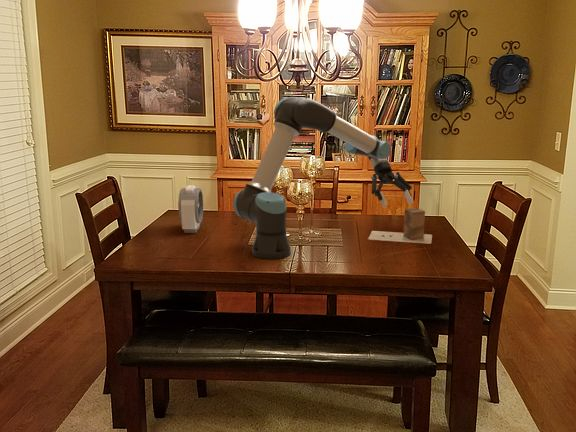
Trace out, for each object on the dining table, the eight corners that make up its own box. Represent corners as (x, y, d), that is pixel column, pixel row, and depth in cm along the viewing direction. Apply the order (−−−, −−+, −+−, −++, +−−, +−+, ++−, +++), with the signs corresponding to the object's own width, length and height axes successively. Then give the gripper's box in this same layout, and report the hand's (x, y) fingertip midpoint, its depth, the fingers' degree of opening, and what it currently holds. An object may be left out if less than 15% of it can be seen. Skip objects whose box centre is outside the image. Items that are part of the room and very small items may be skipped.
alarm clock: (198, 235, 256) (196, 189, 251) (178, 235, 256) (176, 189, 251) (204, 224, 274) (202, 182, 269) (186, 224, 274) (184, 182, 269)
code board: (431, 245, 240) (431, 243, 240) (367, 240, 247) (368, 239, 247) (432, 236, 253) (432, 234, 253) (372, 232, 260) (372, 230, 260)
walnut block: (423, 238, 247) (425, 211, 244) (411, 240, 245) (413, 212, 242) (414, 235, 252) (416, 208, 250) (403, 236, 250) (404, 209, 247)
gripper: (400, 169, 274) (417, 207, 264) (354, 172, 263) (370, 211, 254) (407, 159, 268) (425, 197, 258) (360, 162, 257) (378, 202, 248)
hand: (398, 204), depth 256 cm, fingers open, 13 cm apart
